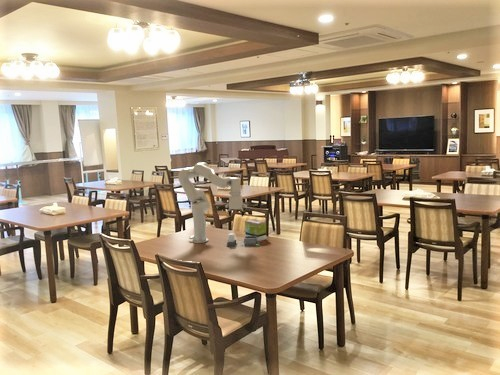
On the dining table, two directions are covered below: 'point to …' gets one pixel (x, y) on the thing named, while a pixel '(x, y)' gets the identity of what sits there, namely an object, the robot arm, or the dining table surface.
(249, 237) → the port
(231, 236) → the plug
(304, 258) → the dining table surface
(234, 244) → the holster
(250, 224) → the tea box
